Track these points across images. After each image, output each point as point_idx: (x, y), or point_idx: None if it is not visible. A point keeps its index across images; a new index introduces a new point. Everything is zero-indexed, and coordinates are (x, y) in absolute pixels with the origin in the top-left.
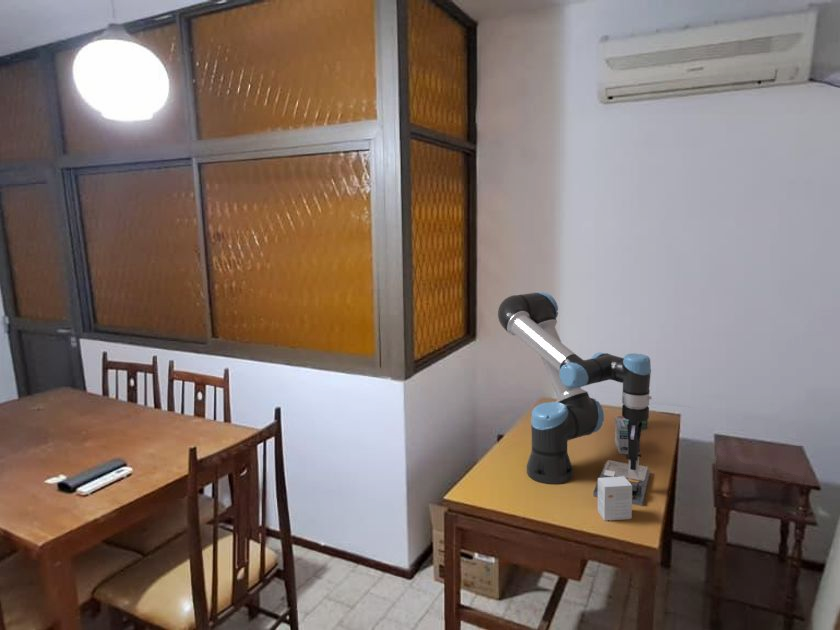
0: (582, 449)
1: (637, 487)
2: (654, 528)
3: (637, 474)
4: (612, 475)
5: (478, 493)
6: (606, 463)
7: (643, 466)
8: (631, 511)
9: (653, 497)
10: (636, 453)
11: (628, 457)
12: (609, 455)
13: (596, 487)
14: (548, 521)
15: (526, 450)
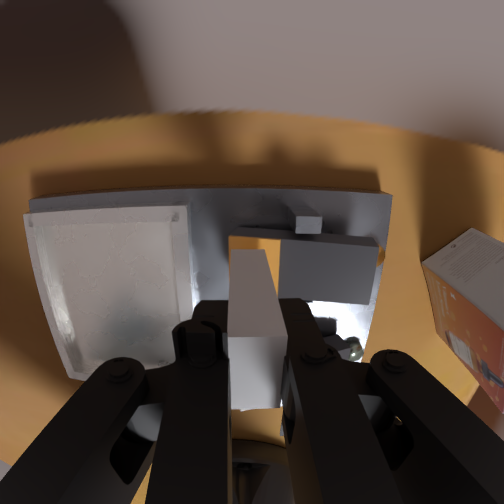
0: (35, 413)
1: (313, 234)
2: (495, 152)
3: (268, 264)
4: None
5: None
6: None
7: (29, 234)
8: (491, 237)
9: (277, 142)
10: (476, 418)
11: (395, 428)
12: (9, 350)
13: None
14: (470, 396)
15: (139, 496)
